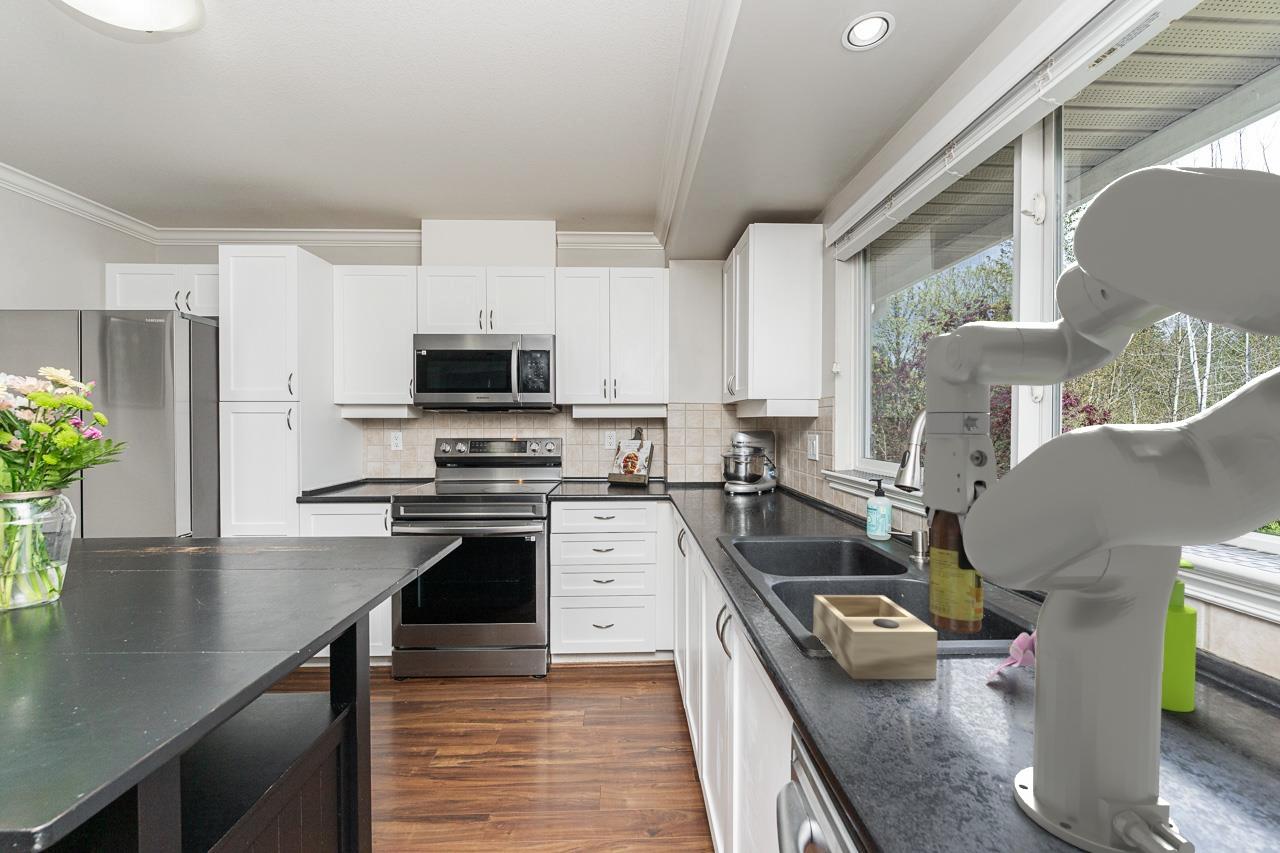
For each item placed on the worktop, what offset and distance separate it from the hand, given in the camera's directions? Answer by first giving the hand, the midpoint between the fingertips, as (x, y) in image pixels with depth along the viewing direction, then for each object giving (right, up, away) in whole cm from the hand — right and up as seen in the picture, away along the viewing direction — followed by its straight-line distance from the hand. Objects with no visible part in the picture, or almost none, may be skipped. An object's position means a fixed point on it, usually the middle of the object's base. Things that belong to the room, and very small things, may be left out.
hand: (955, 561), depth 77 cm
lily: (+14, -20, +7) cm, 25 cm away
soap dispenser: (+30, -20, +2) cm, 36 cm away
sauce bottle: (0, -9, 0) cm, 9 cm away
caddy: (-5, -19, +17) cm, 26 cm away
